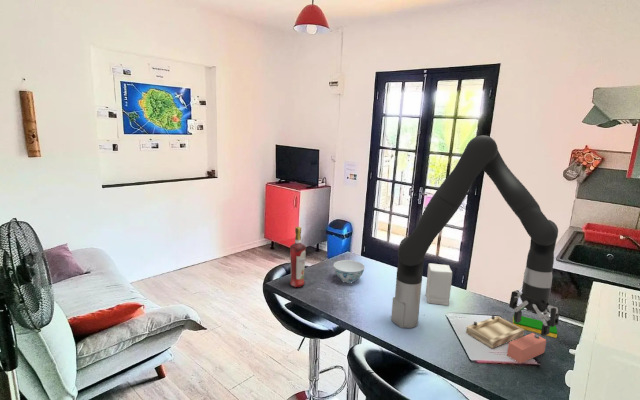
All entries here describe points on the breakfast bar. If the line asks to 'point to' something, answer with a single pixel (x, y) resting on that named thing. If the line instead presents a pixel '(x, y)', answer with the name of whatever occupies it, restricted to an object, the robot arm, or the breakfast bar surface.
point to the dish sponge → (534, 326)
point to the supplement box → (438, 284)
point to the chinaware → (348, 270)
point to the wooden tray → (494, 331)
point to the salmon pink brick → (526, 347)
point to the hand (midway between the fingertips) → (530, 328)
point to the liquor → (297, 260)
